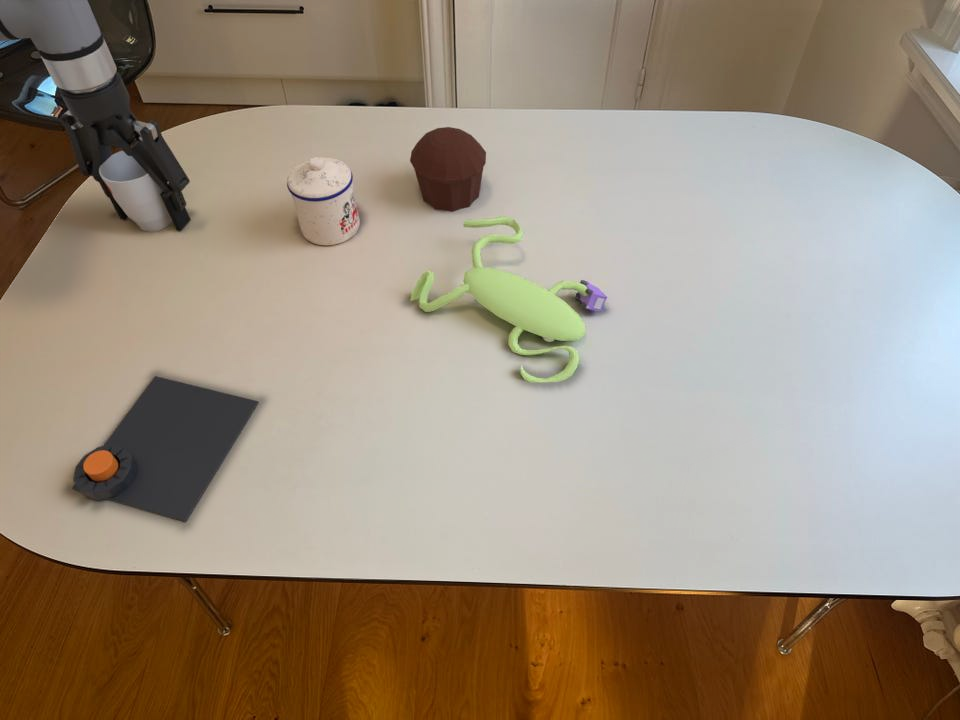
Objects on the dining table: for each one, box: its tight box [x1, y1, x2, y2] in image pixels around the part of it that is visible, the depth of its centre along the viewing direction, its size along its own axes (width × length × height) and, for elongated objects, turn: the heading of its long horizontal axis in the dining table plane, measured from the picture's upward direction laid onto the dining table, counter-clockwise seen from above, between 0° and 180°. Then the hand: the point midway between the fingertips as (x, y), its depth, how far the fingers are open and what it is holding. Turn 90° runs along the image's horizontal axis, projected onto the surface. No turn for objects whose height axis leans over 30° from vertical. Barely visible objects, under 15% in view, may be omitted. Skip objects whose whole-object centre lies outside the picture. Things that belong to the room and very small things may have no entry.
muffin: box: [409, 126, 487, 212], centre depth 105 cm, size 12×11×10 cm
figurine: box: [409, 215, 608, 384], centre depth 91 cm, size 18×27×6 cm
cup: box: [99, 150, 173, 233], centre depth 103 cm, size 8×8×10 cm
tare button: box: [83, 450, 118, 481], centre depth 75 cm, size 3×3×2 cm
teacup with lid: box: [286, 156, 361, 246], centre depth 101 cm, size 12×9×12 cm
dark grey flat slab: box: [71, 375, 260, 523], centre depth 79 cm, size 14×16×3 cm
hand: (155, 219), depth 106 cm, fingers open, 9 cm apart
